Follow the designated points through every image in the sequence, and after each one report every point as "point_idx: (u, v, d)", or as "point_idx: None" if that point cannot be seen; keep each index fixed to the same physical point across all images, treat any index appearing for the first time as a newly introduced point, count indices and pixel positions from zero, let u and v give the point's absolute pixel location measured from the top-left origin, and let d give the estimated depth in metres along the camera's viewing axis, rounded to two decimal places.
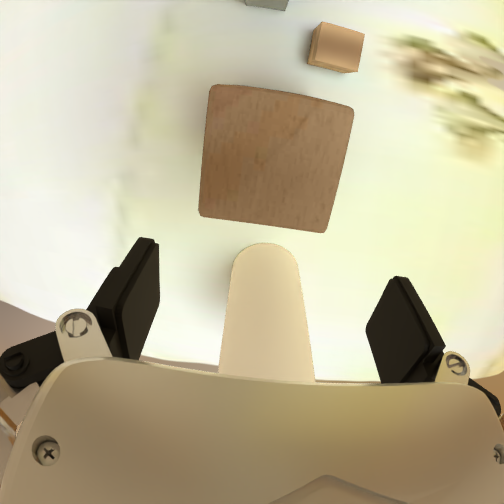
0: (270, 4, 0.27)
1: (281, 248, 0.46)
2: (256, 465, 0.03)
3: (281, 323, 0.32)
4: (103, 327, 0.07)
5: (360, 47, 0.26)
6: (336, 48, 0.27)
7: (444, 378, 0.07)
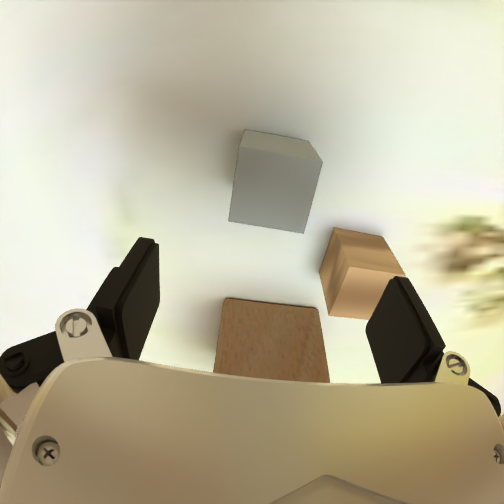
0: None
1: None
2: (256, 465, 0.03)
3: None
4: (103, 327, 0.07)
5: None
6: (361, 299, 0.23)
7: (444, 378, 0.07)
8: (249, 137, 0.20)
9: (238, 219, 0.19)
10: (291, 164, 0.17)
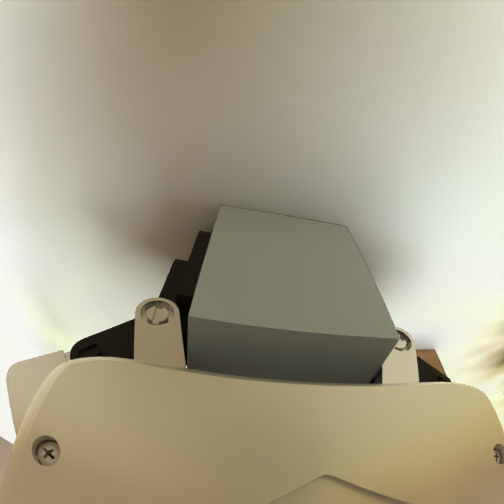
0: None
1: None
2: (256, 465, 0.03)
3: None
4: (179, 315, 0.09)
5: None
6: None
7: (391, 359, 0.07)
8: (224, 245, 0.09)
9: None
10: (327, 350, 0.07)
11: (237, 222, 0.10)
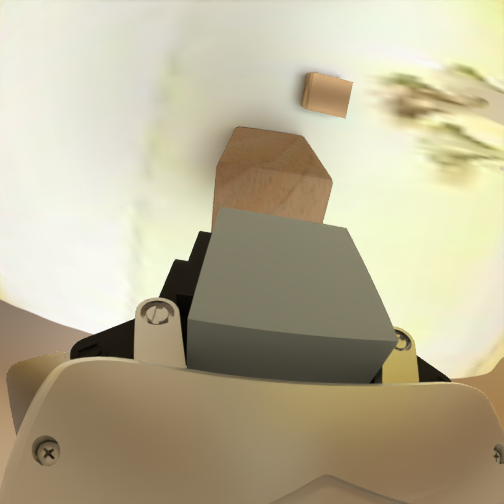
0: None
1: None
2: (256, 465, 0.03)
3: None
4: (179, 315, 0.09)
5: (348, 95, 0.32)
6: (327, 97, 0.33)
7: (391, 359, 0.07)
8: (224, 247, 0.09)
9: None
10: (325, 352, 0.07)
11: (236, 224, 0.10)
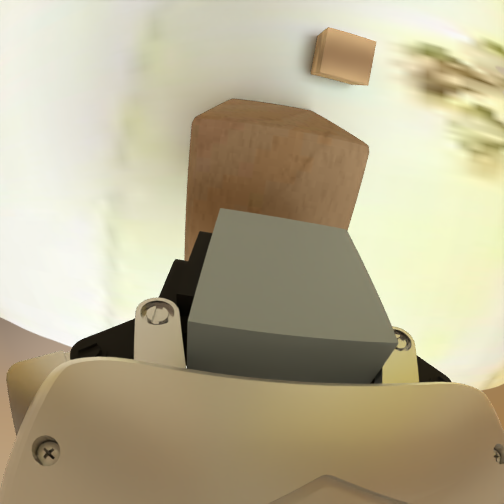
0: None
1: None
2: (256, 465, 0.03)
3: None
4: (179, 315, 0.09)
5: (371, 57, 0.23)
6: (344, 58, 0.24)
7: (391, 359, 0.07)
8: (224, 249, 0.09)
9: None
10: (325, 354, 0.07)
11: (237, 225, 0.10)
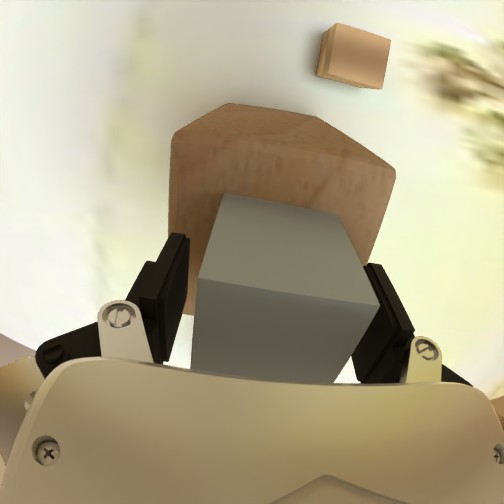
0: None
1: None
2: (256, 465, 0.03)
3: None
4: (144, 318, 0.08)
5: (385, 57, 0.20)
6: (356, 58, 0.20)
7: (417, 366, 0.07)
8: (228, 224, 0.10)
9: None
10: (315, 312, 0.08)
11: (239, 207, 0.12)
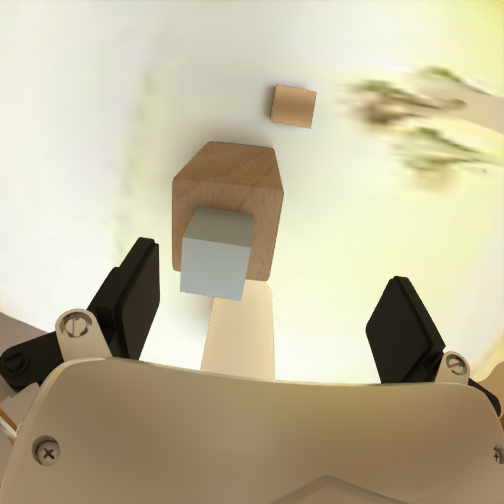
0: None
1: None
2: (256, 465, 0.03)
3: (247, 343, 0.40)
4: (103, 327, 0.07)
5: (312, 105, 0.34)
6: (291, 109, 0.35)
7: (444, 378, 0.07)
8: (196, 220, 0.24)
9: (187, 290, 0.24)
10: (225, 250, 0.22)
11: (203, 212, 0.26)
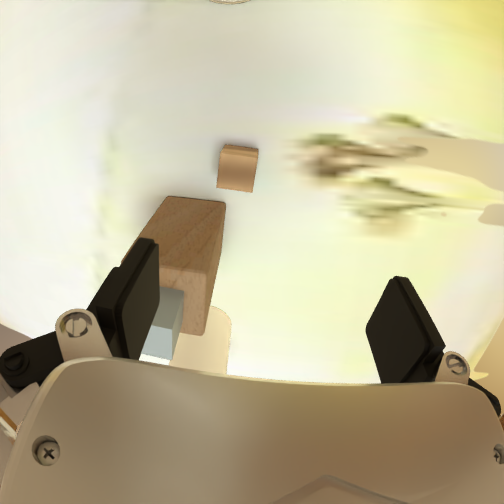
0: None
1: (215, 309, 0.60)
2: (256, 465, 0.03)
3: None
4: (103, 327, 0.07)
5: (254, 171, 0.40)
6: (233, 175, 0.40)
7: (444, 378, 0.07)
8: None
9: None
10: (154, 329, 0.28)
11: None
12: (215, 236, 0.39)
